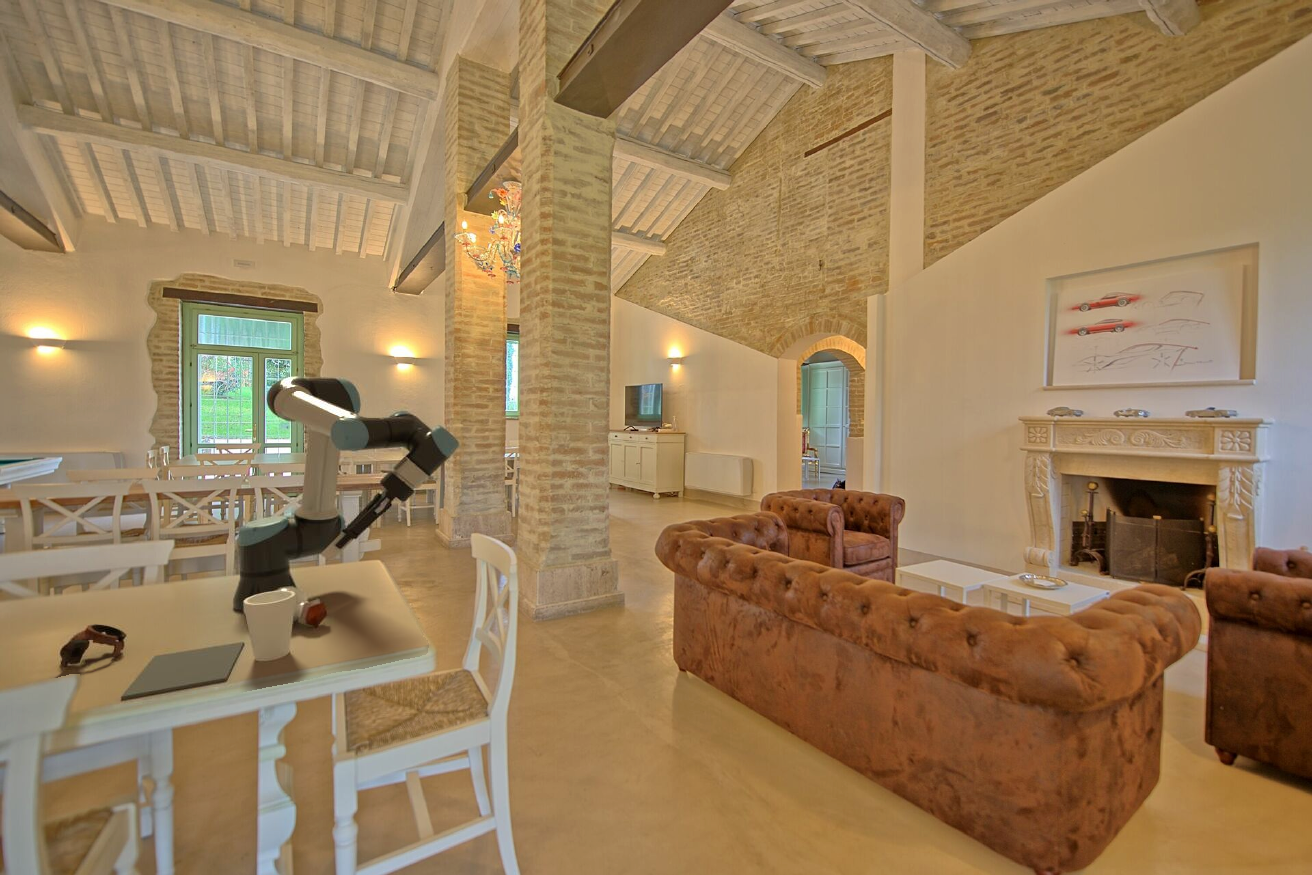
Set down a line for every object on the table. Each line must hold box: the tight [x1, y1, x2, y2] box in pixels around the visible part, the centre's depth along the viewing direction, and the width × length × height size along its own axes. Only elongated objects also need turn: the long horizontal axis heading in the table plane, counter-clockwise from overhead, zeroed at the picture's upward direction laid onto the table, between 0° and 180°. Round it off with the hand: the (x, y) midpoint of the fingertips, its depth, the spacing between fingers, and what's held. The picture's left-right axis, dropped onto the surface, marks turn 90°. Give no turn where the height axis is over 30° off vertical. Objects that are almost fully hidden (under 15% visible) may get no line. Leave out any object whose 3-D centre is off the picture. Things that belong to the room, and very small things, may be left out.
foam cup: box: [243, 590, 296, 662], centre depth 126 cm, size 10×9×13 cm
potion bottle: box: [276, 586, 328, 628], centre depth 144 cm, size 9×10×15 cm
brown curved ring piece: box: [59, 623, 127, 668], centre depth 123 cm, size 12×10×8 cm
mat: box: [120, 641, 245, 700], centre depth 119 cm, size 16×20×1 cm
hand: (326, 557), depth 130 cm, fingers closed
